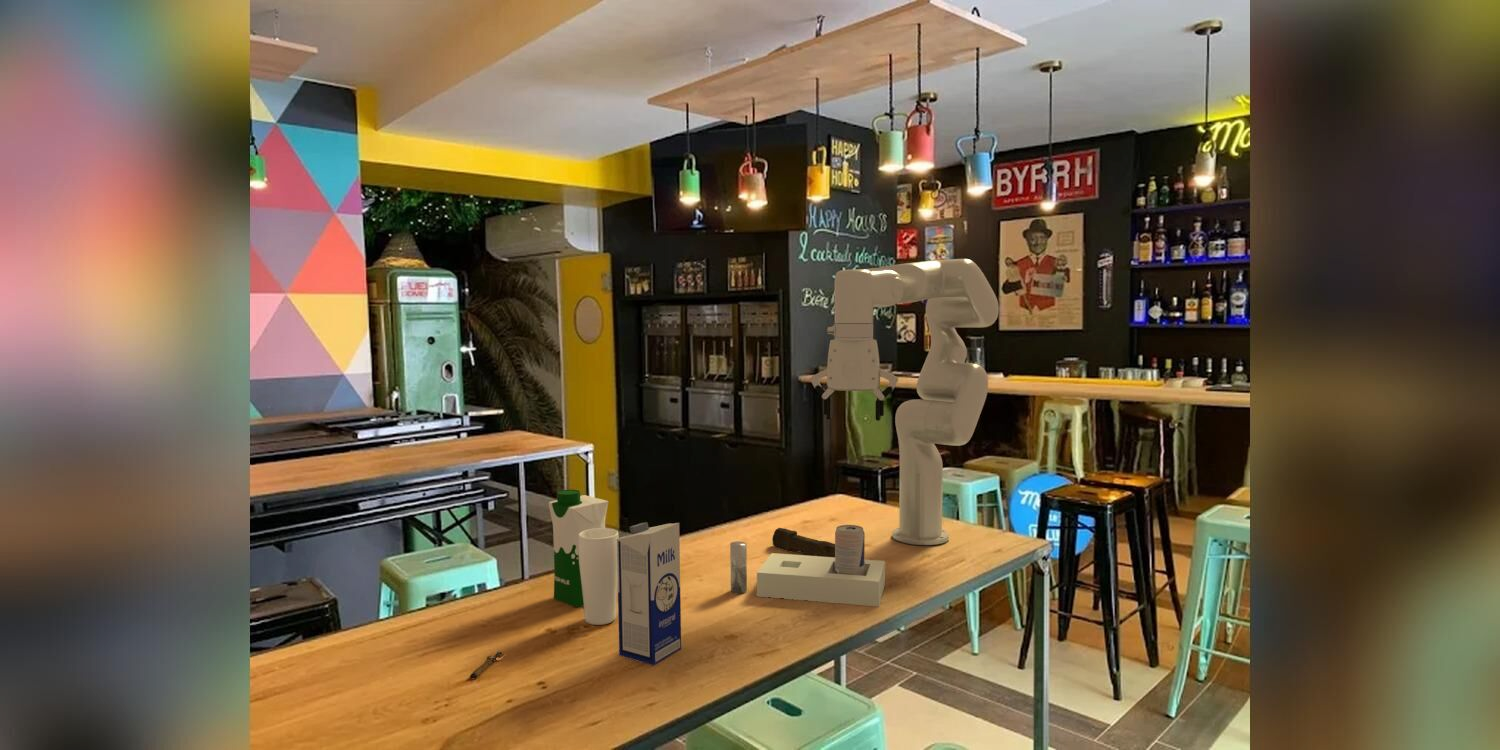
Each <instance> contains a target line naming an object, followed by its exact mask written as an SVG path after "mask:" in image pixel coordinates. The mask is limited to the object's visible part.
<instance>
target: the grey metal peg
mask: <svg viewBox="0 0 1500 750" xmlns="http://www.w3.org/2000/svg"><path fill="white" fill-rule="evenodd" d="M729 547H730V549H729V551H730V554H729V555H730V559H729V560H730V563H729V564H730V593H732V594H734V593H737V594H736V595H740V594H739V593H743V594H746V593H747V592H748V581H747V580H748V576H747V575H748V572H747V570H748V565H747V563H748V562H747V558H748V557H747V555H748V554H747V548H748V547H747V542H745V541H733V542H730V544H729ZM746 591H747V592H746ZM745 592H746V593H745Z"/></svg>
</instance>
